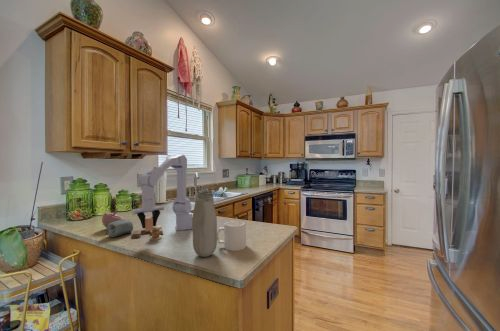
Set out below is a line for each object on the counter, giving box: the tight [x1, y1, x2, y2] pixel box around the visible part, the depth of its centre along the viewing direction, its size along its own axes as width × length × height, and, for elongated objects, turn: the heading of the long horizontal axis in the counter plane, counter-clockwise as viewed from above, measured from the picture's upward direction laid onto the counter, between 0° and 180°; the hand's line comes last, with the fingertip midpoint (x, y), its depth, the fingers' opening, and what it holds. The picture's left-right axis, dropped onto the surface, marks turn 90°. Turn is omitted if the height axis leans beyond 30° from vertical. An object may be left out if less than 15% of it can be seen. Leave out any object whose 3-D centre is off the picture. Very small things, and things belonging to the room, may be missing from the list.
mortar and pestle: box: [101, 209, 126, 228], centre depth 142 cm, size 12×12×12 cm
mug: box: [217, 220, 247, 252], centre depth 110 cm, size 14×10×11 cm
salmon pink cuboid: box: [144, 216, 153, 231], centre depth 115 cm, size 4×4×6 cm
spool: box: [105, 218, 134, 238], centre depth 130 cm, size 14×10×10 cm
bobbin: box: [149, 224, 163, 241], centre depth 124 cm, size 6×6×6 cm
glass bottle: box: [192, 188, 218, 258], centre depth 100 cm, size 10×10×28 cm
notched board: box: [131, 227, 164, 239], centre depth 130 cm, size 15×7×2 cm, turn 113°
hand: (149, 226), depth 115 cm, fingers closed on salmon pink cuboid, 4 cm apart
